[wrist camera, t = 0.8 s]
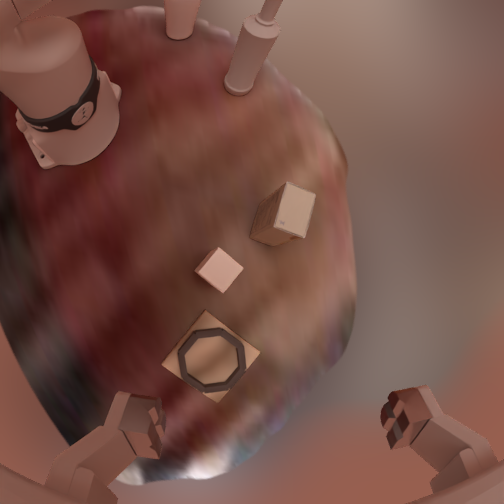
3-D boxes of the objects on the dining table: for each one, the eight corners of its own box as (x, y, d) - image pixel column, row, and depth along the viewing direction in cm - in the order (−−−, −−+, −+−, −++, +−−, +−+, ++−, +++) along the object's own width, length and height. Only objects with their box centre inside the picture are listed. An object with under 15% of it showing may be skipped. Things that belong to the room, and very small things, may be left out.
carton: (194, 270, 45) (198, 272, 36) (211, 250, 46) (219, 247, 37) (214, 287, 46) (223, 293, 37) (230, 267, 46) (243, 268, 38)
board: (161, 362, 43) (161, 367, 41) (205, 309, 45) (206, 312, 43) (216, 400, 45) (219, 407, 42) (258, 350, 47) (263, 355, 44)
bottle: (217, 82, 47) (250, -24, 23) (239, 70, 48) (282, -30, 24) (235, 101, 48) (281, -1, 23) (257, 89, 49) (311, -8, 24)
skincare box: (273, 247, 48) (304, 241, 36) (248, 238, 47) (272, 229, 35) (284, 209, 49) (318, 193, 37) (260, 200, 48) (287, 180, 36)
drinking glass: (156, 39, 44) (157, -16, 30) (170, 19, 45) (175, -34, 30) (188, 46, 46) (196, -9, 31) (201, 26, 47) (212, -28, 32)
